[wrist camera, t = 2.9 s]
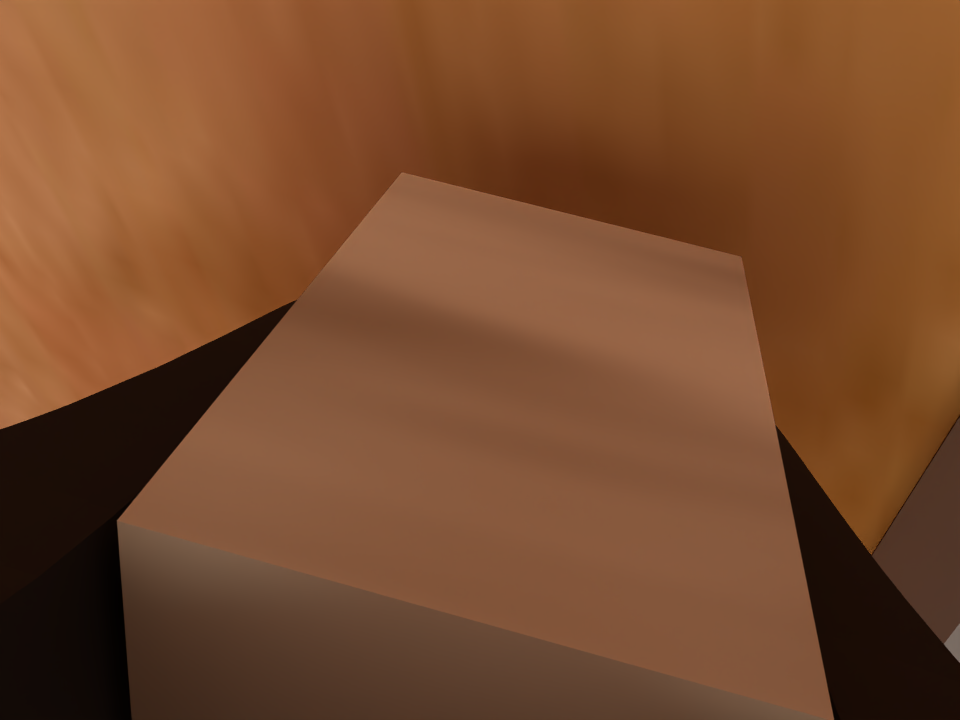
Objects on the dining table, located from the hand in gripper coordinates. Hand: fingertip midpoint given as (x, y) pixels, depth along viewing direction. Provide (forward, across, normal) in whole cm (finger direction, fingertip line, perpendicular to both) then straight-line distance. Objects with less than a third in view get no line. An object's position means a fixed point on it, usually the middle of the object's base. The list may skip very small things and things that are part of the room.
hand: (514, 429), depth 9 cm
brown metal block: (+2, 0, 0) cm, 2 cm away
